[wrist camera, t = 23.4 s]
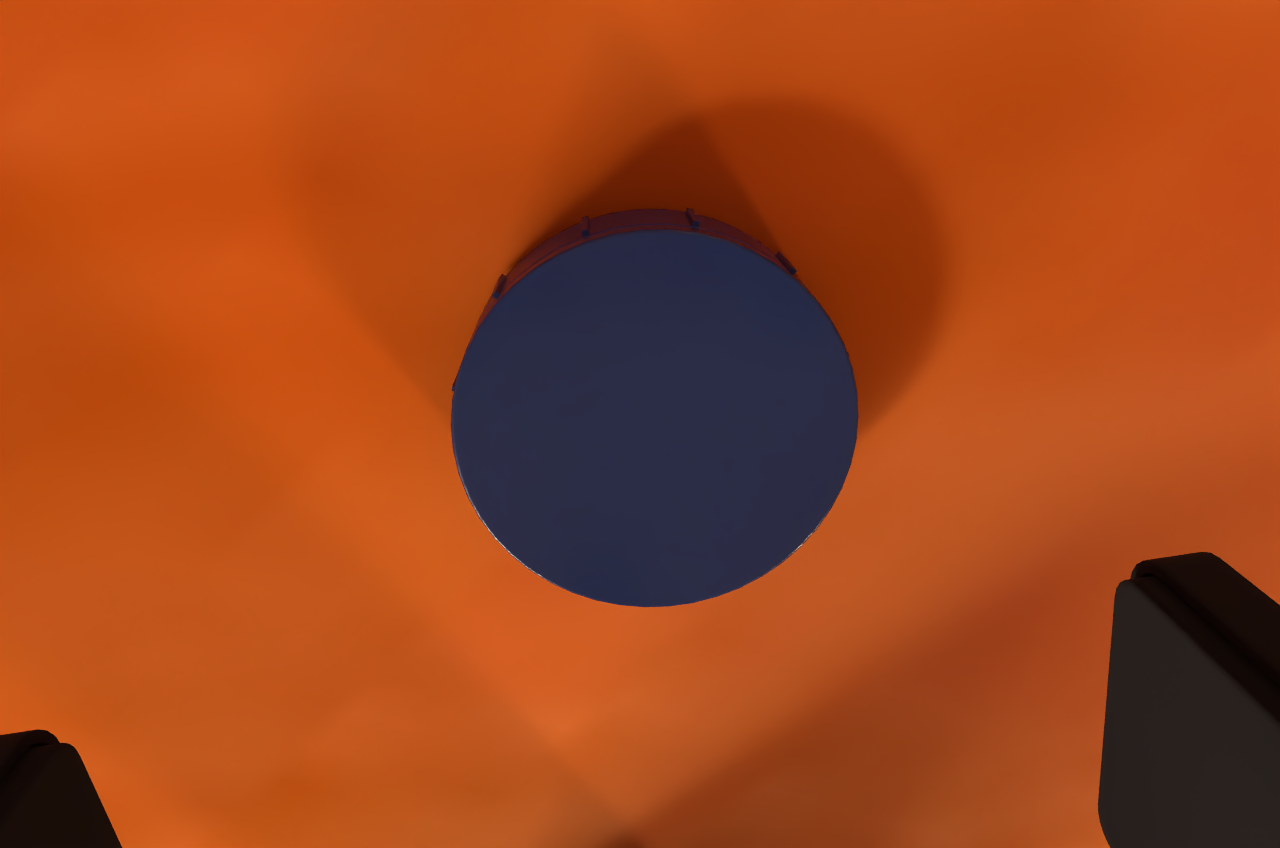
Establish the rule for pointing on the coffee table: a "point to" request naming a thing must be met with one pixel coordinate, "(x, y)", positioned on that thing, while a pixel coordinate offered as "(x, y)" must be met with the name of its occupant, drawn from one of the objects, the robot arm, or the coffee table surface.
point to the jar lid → (653, 409)
